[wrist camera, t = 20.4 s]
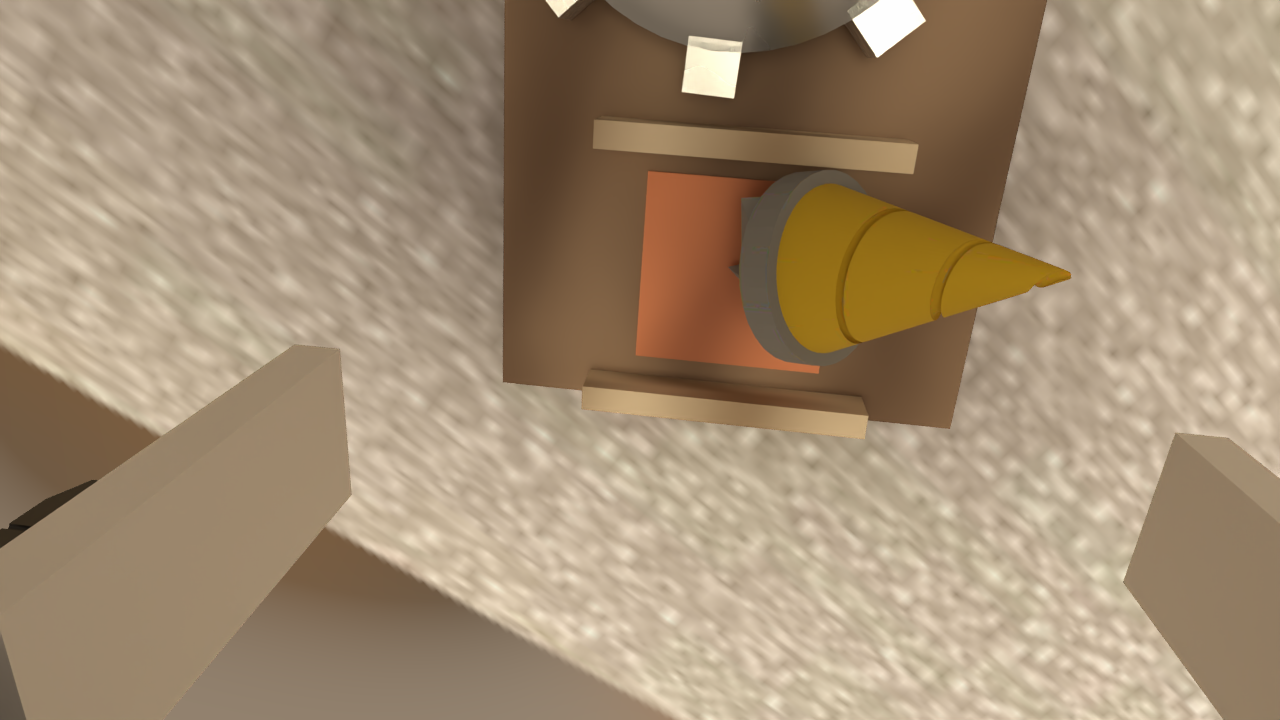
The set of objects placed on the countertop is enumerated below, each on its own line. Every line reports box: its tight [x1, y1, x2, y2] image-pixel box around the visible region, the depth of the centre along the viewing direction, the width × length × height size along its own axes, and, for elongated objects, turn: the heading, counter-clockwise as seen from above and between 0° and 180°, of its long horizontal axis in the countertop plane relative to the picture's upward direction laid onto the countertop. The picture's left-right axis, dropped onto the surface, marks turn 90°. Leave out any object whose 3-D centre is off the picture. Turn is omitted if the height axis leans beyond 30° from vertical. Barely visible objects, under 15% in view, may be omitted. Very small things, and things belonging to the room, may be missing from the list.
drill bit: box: [728, 170, 1071, 366], centre depth 21 cm, size 5×5×10 cm
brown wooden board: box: [503, 0, 1047, 439], centre depth 23 cm, size 15×22×2 cm
